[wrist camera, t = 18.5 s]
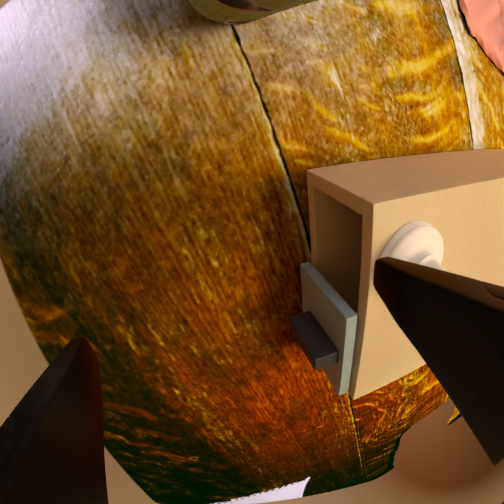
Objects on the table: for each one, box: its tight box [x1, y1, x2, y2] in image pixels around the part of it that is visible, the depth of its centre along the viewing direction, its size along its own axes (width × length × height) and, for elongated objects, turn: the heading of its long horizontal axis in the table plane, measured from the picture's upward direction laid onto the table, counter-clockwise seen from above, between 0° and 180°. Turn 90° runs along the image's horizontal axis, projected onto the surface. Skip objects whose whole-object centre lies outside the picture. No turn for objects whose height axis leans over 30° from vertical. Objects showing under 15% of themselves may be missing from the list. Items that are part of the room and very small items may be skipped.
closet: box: [306, 149, 504, 400], centre depth 24 cm, size 26×16×8 cm, turn 98°
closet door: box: [289, 262, 357, 395], centre depth 23 cm, size 3×8×7 cm, turn 8°
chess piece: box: [380, 221, 448, 272], centre depth 13 cm, size 5×5×10 cm
